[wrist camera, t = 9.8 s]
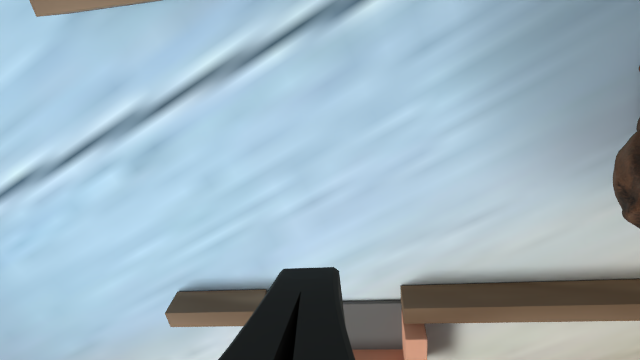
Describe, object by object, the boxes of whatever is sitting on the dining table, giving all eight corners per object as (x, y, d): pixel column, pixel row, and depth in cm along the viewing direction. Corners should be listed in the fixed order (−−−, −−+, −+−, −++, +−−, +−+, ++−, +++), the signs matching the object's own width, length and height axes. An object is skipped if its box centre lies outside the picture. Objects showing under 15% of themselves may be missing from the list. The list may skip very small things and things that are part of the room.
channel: (873, 289, 16) (972, 348, 14) (182, 305, 21) (157, 351, 18) (1238, -198, 9) (1603, -276, 6) (55, -17, 13) (-19, -17, 11)
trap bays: (552, 357, 20) (571, 393, 18) (267, 358, 22) (259, 390, 20) (729, -349, 9) (823, -433, 7) (108, -208, 11) (60, -246, 9)
